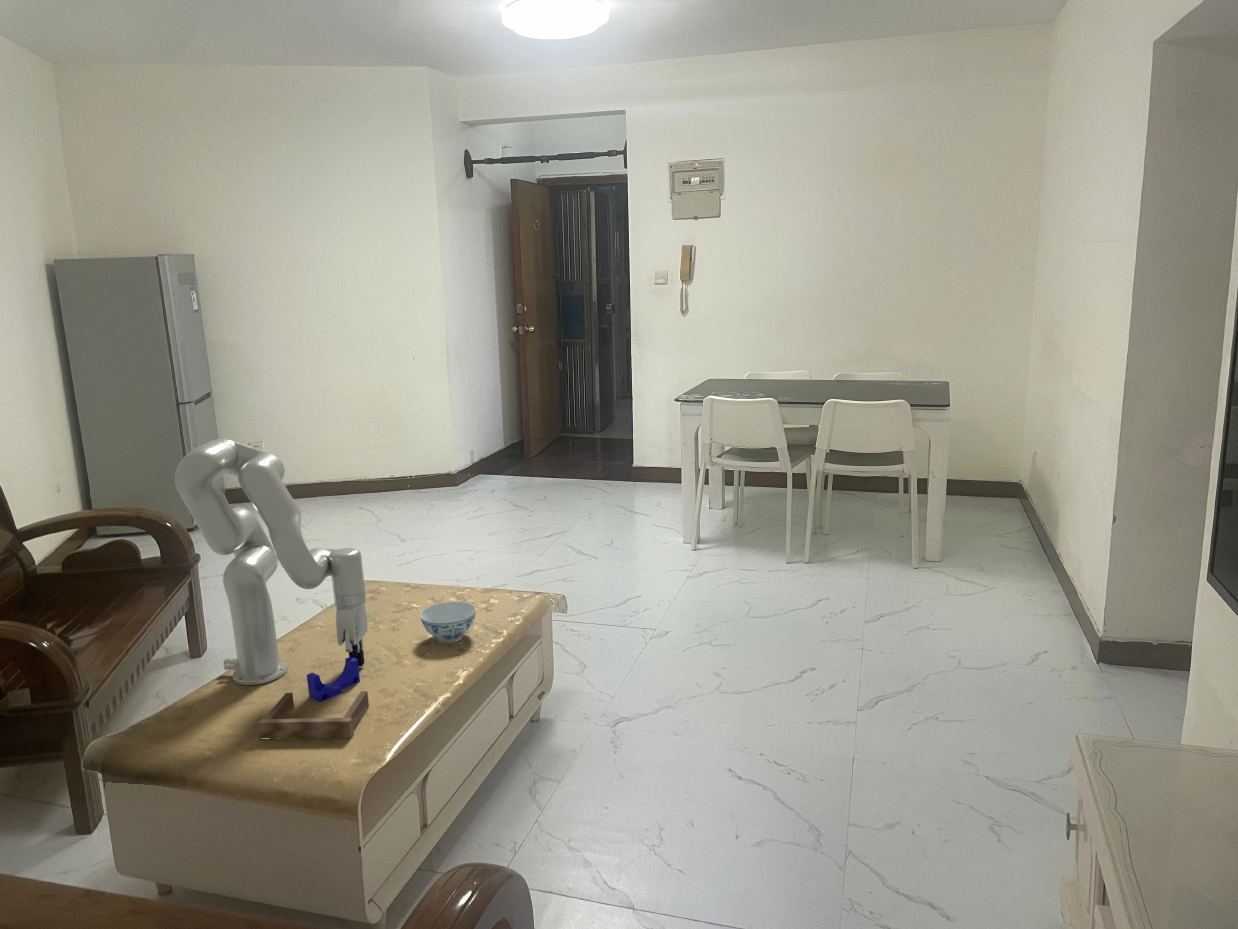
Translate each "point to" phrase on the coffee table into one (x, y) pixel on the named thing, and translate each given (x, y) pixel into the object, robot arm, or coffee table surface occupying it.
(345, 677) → the cable clip
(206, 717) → the coffee table surface
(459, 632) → the chinaware
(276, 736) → the dock bay
